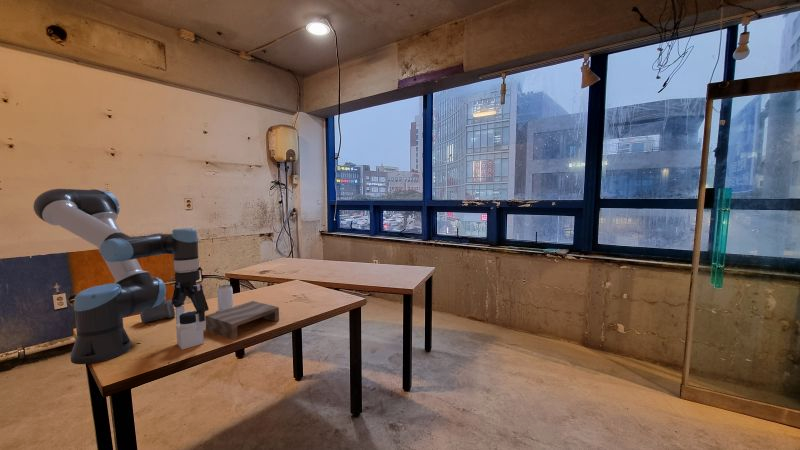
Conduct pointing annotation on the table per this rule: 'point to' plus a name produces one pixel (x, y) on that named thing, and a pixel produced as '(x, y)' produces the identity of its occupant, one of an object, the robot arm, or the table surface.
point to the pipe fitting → (158, 312)
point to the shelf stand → (239, 317)
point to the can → (225, 297)
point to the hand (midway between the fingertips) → (190, 326)
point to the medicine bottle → (188, 331)
